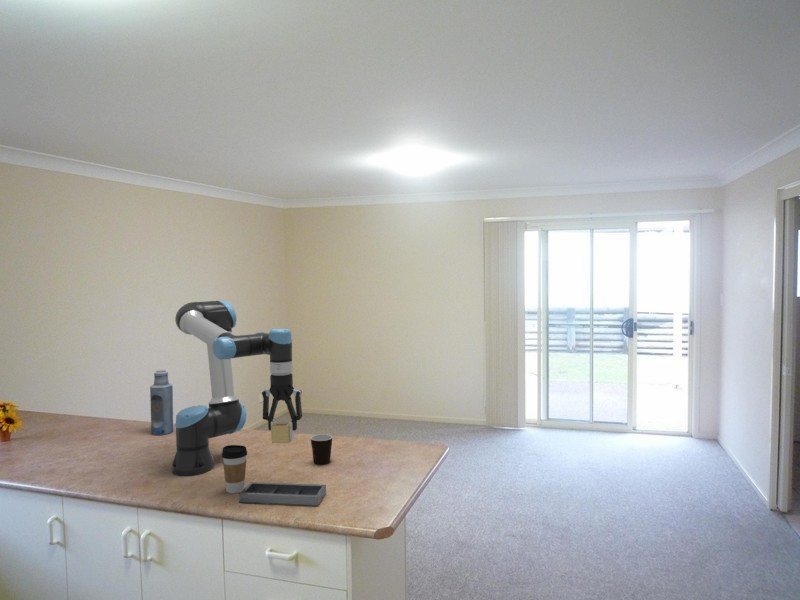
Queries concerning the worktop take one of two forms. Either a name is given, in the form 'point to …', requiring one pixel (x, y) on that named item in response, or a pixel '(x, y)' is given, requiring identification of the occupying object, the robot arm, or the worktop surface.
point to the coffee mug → (321, 448)
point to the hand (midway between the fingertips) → (283, 439)
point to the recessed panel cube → (281, 432)
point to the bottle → (161, 404)
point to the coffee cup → (234, 467)
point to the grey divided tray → (283, 494)
